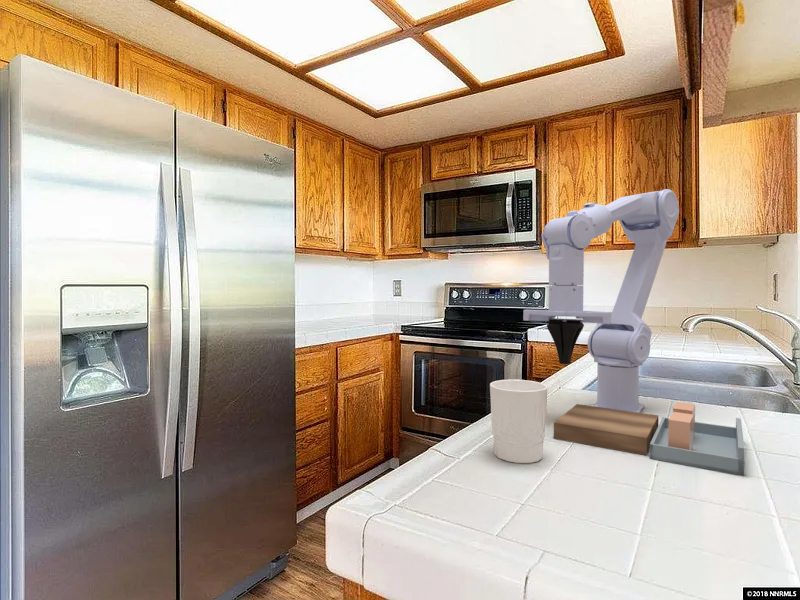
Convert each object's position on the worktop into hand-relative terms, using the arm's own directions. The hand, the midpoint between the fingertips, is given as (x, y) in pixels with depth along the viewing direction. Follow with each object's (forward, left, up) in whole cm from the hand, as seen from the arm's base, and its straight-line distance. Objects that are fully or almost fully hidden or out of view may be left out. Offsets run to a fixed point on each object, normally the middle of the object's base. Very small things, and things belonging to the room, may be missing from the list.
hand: (565, 363), depth 81 cm
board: (+3, +8, -10) cm, 13 cm away
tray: (+3, +20, -10) cm, 23 cm away
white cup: (+20, -1, -11) cm, 23 cm away
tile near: (+7, +17, -8) cm, 20 cm away
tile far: (0, +17, -8) cm, 18 cm away
